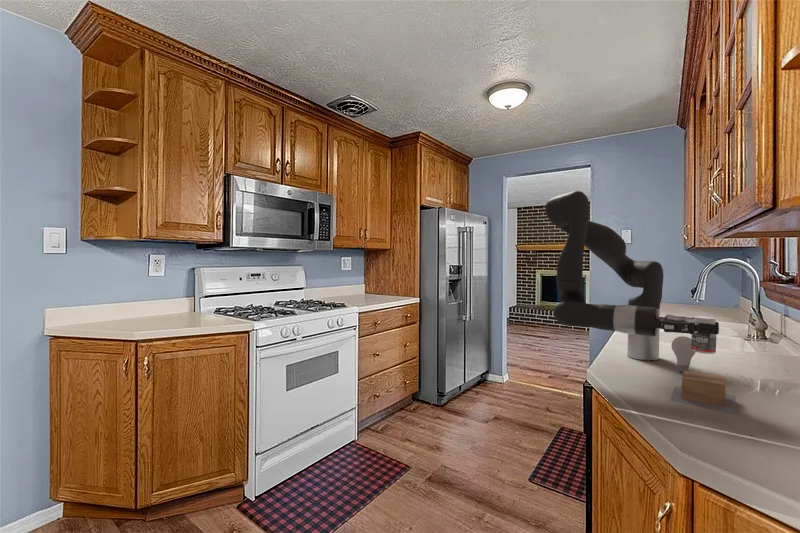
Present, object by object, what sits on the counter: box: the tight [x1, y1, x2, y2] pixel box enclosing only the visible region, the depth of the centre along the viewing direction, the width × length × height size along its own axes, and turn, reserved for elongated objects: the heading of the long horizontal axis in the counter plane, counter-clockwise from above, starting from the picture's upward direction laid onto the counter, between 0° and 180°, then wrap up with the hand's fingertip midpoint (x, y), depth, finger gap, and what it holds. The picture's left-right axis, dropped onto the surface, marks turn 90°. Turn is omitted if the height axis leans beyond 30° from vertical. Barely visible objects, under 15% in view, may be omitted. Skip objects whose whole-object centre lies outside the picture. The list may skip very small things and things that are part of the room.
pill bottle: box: [690, 315, 718, 355], centre depth 94 cm, size 5×5×8 cm
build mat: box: [670, 385, 738, 414], centre depth 94 cm, size 14×12×1 cm
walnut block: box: [681, 370, 726, 407], centre depth 94 cm, size 8×8×5 cm
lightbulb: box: [671, 335, 697, 374], centre depth 116 cm, size 6×6×11 cm
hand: (718, 328), depth 92 cm, fingers closed on pill bottle, 4 cm apart
